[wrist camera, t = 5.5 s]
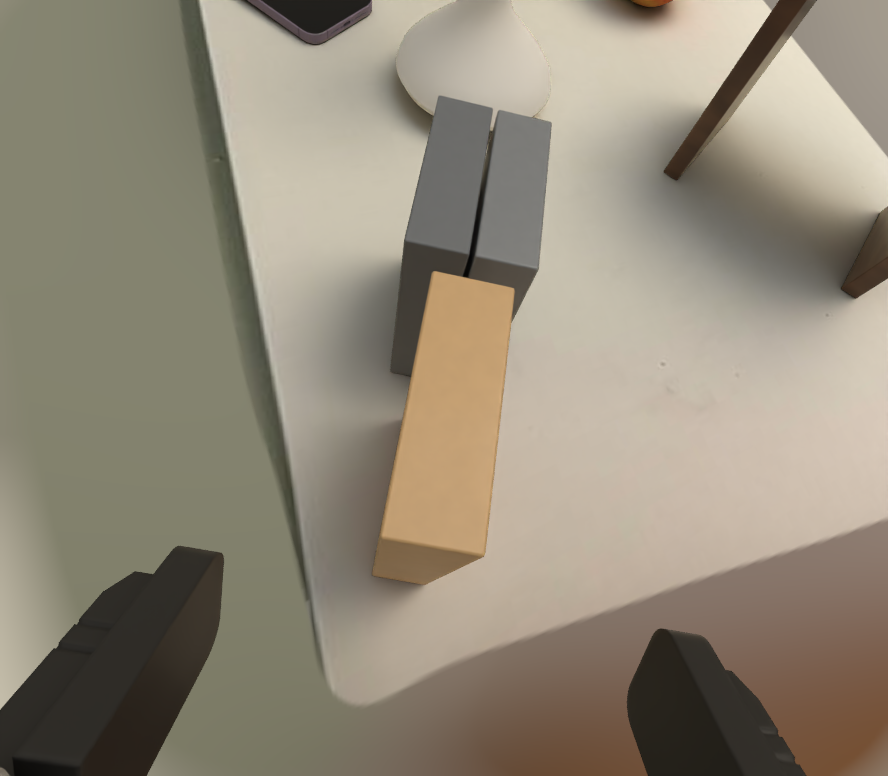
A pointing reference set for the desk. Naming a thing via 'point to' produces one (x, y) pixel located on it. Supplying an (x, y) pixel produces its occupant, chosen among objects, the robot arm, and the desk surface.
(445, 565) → the book
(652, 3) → the apple
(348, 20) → the smartphone
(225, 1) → the desk surface
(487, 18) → the flower in vase
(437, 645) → the desk surface
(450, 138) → the grey books
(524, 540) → the desk surface
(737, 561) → the desk surface
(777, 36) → the rack
